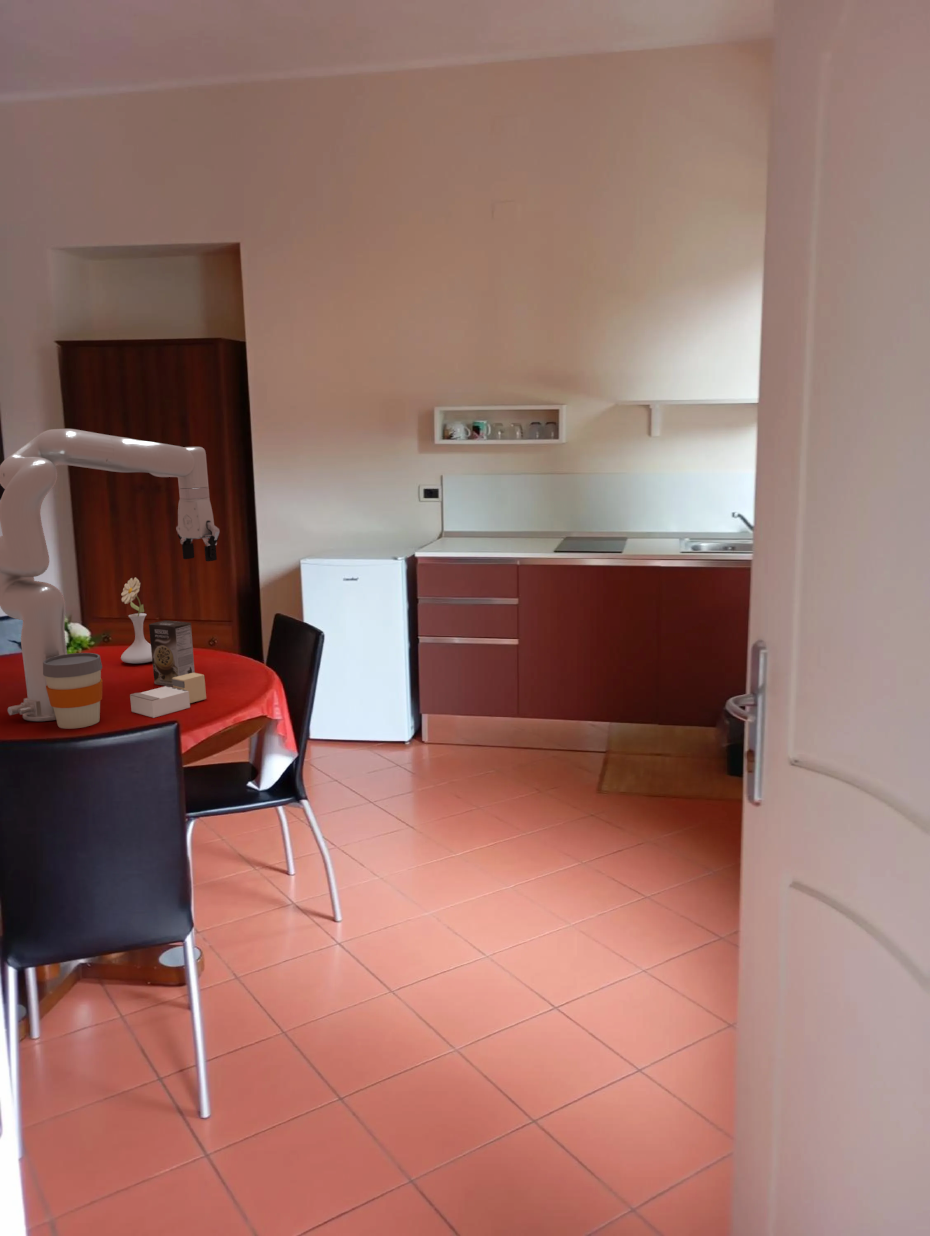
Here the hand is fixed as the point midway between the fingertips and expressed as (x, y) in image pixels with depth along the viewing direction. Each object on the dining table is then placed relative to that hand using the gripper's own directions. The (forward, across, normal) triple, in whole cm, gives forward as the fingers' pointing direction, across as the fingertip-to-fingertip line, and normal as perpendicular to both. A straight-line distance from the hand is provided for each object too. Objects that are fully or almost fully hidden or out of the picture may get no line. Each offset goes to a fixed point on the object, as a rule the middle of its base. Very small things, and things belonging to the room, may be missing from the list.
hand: (199, 559), depth 262 cm
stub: (+31, +19, -20) cm, 42 cm away
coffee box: (+32, 0, -11) cm, 33 cm away
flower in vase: (+31, -29, -2) cm, 43 cm away
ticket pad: (+31, +19, -28) cm, 46 cm away
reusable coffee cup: (+31, +12, -45) cm, 56 cm away
